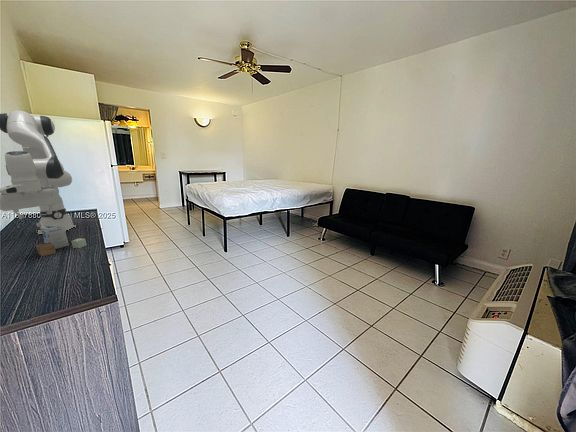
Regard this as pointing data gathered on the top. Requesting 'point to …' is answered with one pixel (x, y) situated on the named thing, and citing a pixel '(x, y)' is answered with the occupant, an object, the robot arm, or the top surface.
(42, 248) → the walnut cube
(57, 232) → the light bulb box
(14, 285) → the top surface
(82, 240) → the sage block
